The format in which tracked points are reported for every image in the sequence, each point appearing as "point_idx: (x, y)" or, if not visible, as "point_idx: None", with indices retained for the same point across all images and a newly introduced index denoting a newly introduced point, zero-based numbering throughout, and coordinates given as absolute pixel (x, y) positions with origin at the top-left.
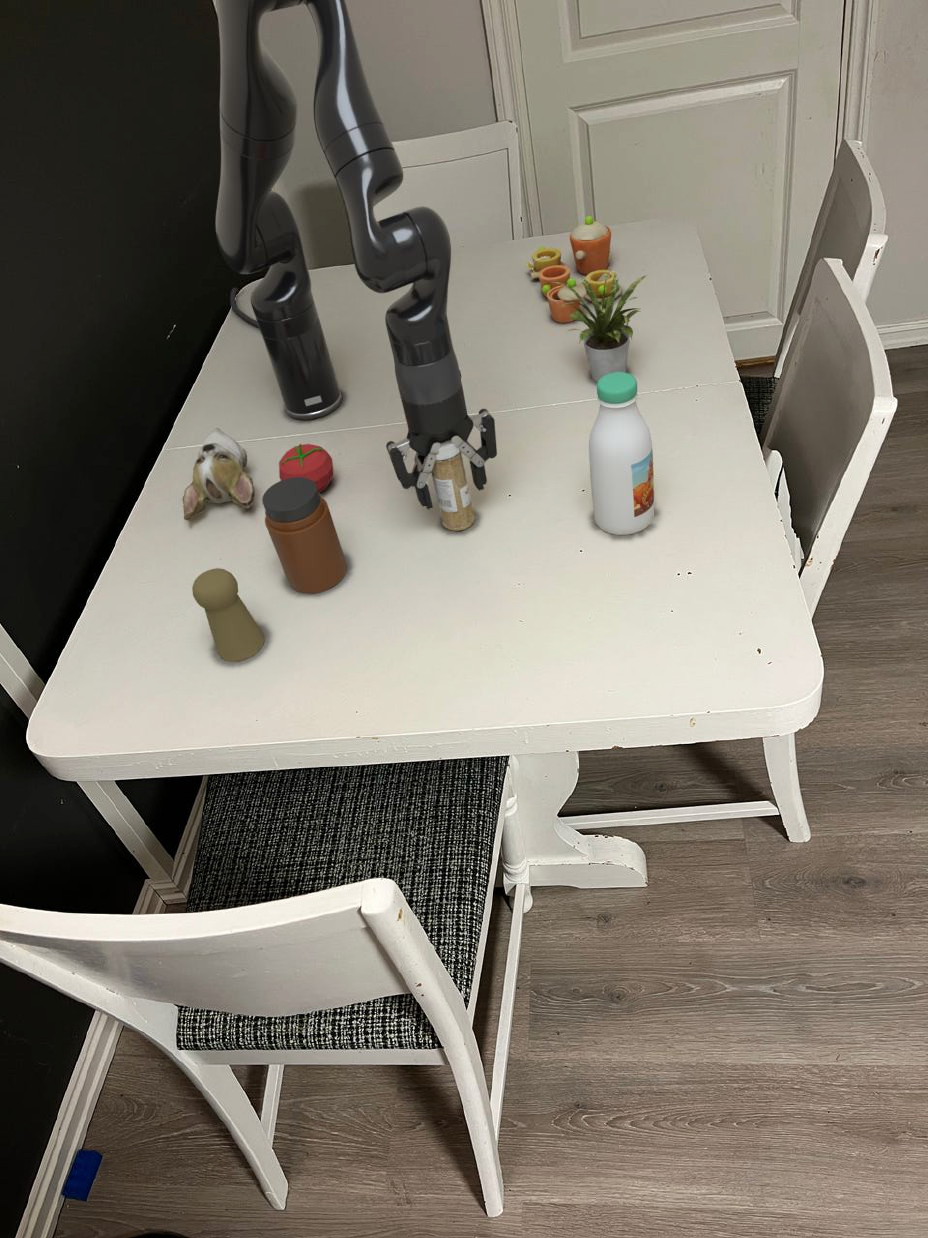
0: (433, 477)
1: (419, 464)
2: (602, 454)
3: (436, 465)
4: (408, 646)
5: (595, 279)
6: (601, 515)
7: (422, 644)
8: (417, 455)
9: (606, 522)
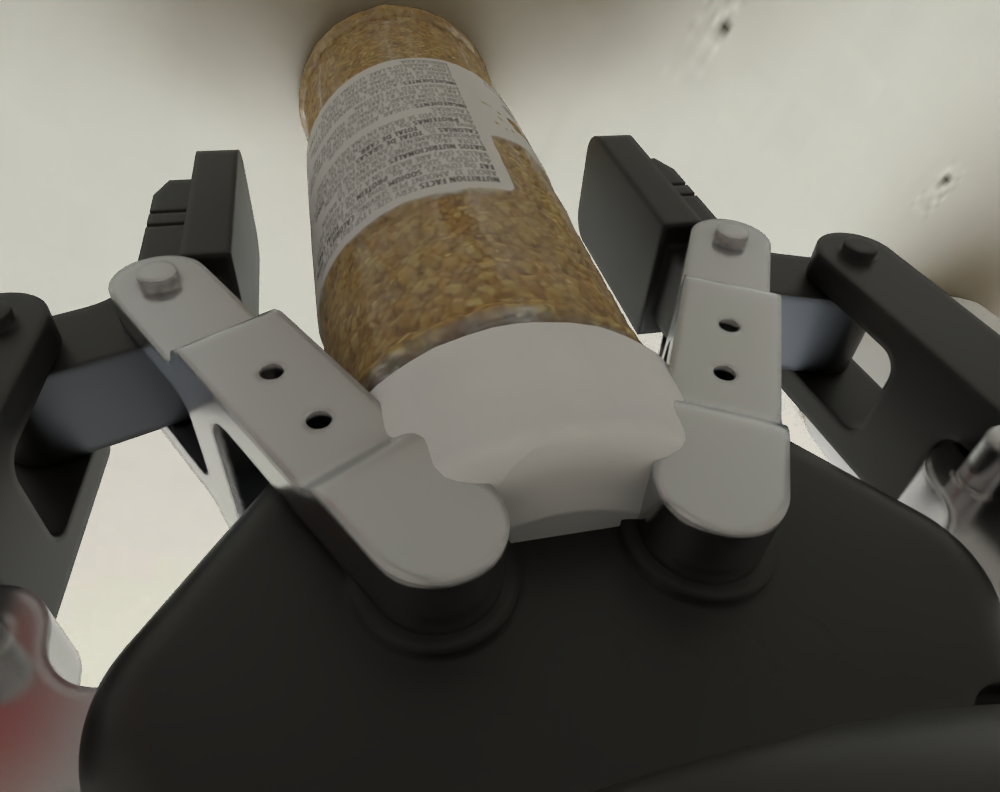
0: (323, 342)
1: (218, 478)
2: None
3: None
4: (57, 616)
5: None
6: (834, 452)
7: (107, 615)
8: (217, 423)
9: (823, 448)
